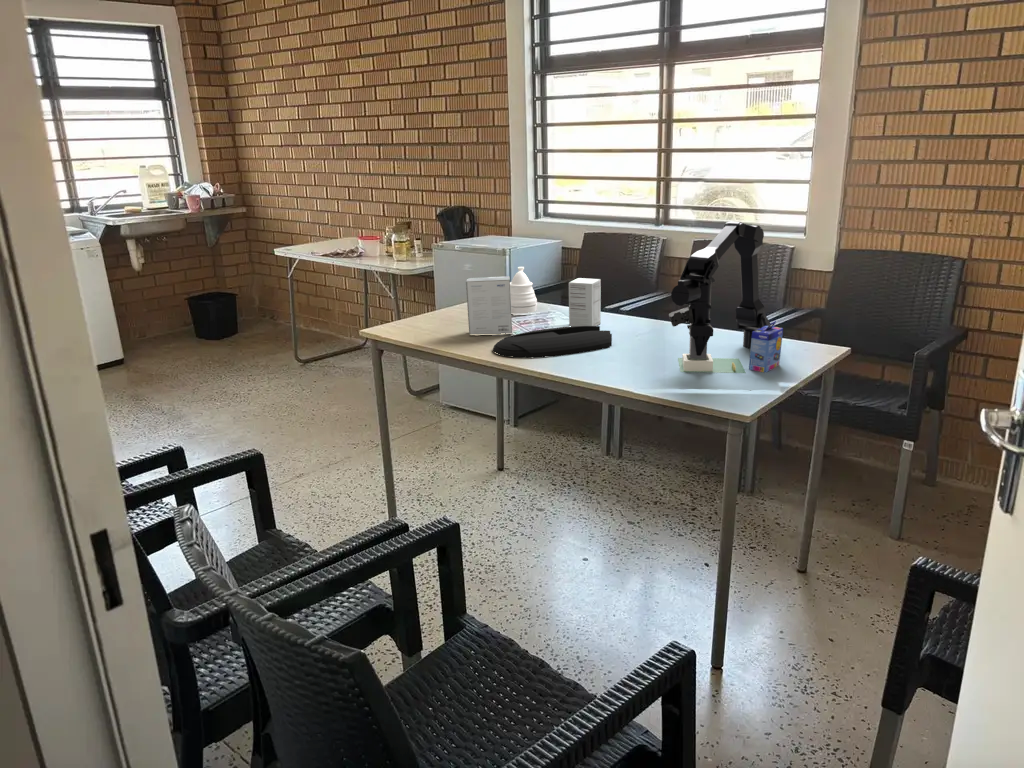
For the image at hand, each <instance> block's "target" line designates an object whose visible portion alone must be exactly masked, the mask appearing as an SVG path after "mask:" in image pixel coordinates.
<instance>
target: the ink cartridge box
mask: <svg viewBox="0 0 1024 768" xmlns="http://www.w3.org/2000/svg"><path fill="white" fill-rule="evenodd" d="M776 322H777V320H775V321H772V322H770V325H769V326H764V327H762V328H760V329H757V330H755V331H753V332H752V338H751V349H749V350H750V352H749V362H748V370H749V371H750V370H751V371H755V372H761V373H767V372H769V371H771V370H773V369H775V368H777V367H778V366H780V362H781V361H780V359H781V353H782V343H783V335H784V334H783V333H784V328H783V327H780V326H779V327H778V326H775V324H776Z"/></svg>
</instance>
